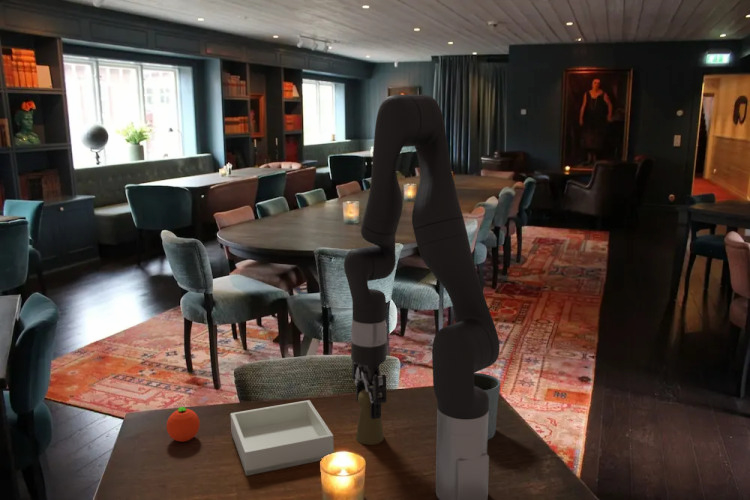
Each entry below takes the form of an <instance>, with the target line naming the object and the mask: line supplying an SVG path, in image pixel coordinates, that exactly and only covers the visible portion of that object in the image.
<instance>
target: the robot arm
mask: <svg viewBox="0 0 750 500" xmlns="http://www.w3.org/2000/svg"><path fill="white" fill-rule="evenodd" d="M446 133H447V132H446V125H445V119H444V116H443V111H442V109H441V107H440V105H439V102H437V101H436V100H435V98H434V97H432V96H430V95H427V94H394V95H390V96H389V95H388V96H387V97H386V98H385V99H384V100H383V101H382V102H381V103H380V106H379V108H378V111H377V115H376V120H375V127H374V136H373V139H374V140H373V150H372V151H373V152H372V161H371V162H372V163H371V177H370V178H371V179H370V187H369V194H368V199H367V202H366V207H365V209H364V210H365V211H364V215H363V219H362V223H361V228H360V234H361V236H362V238H363V239H364V240H365V241H366V242H368V243H370V244H374V245H372V246H365V247H356V248H352V249H351V250H349V251H348V252H347V253H346V255H345V257H344V262H343V269H344V273H345V277H346V280H347V284H348V287H349V292H350V295H351V300H352V304H351V305H352V320H351V321H352V322H351V330H350V333H351V334H350V359H351V360H352V363H351V365H352V366H351V379H352V380H354V385H355V386H356V387H355V388H356V389H355V390H356V391H355V394H356V395H355V400H356V401H357V402H358V395H359V393H360V392H361V391H362V390H364V389H366V392H367V393H369V397H370V417H371V418H372V419H377V418H380V417H381V418H382V404H384V403H387V375H386V374H382V373H381V370H380V365H381V364H383V363H384V362H385V361H386V360H387V337H388V336H387V322H386V321H387V319H386V318H387V317H386V315H387V311H386V310H387V307H386V306H387V299H386V295H385V293H384V292H383V291H381V290H378V289H374V288H369V285H368V284H369V283H368V282H372V281H375V280H382V279H383V280H384V279H386V278H388V277H390V276H391V274H392V273H393V272H394V270H395V267H396V261H397V260H396V259H397V257H396V234H397V230H398V227H399V223H400V220H401V216H402V211H403V204H404V203H403V202H404V201H403V194H402V189H401V187H400V183H399V181H398V180H399V179H398V174H397V168H398V167H397V165H398V162H399V161H398V160H399V157H400V154H401V152H402V150H403V148H404V147H405V148H408V147H414V148H415V151H416V156H417V160H418V166H419V172H420V179H419V185H418V188H417V193H416V196H415V199H414V203H413V207H412V212H411V213H412V215H411V222H412V223H411V224H412V229H413V233H414V237H415V243H416V245H417V250H418V252H419V255H420V258H421V260H422V261H423V263H424V264H425V266H426V267H427V268H428V270H429V271H430V272H431V274H433V276H434V277H435V278H436V279H437V281H438V282H439V283H440V284H441V286H442V287H443V288H444V290H445V291H446V292H447V295H448V297H449V299H450V302H451V305H452V307H453V308H452V309H453V312H454V315H455V320H456V321H455V323H452V324H449V325H446V326H444V327H442V328H440V329H439V330H438V331H437V332H436V333H435V336H434V338H433V342H432V347H431V348H432V349H431V360H432V363H431V364H432V365H431V366H432V385H433V387H432V388H433V392H434V395H435V398H436V401H437V402H436V403H437V404H436V405H437V407H436V409H437V410H436V411H437V412H436V414H437V415H436V451H435V453H436V455H435V458H436V459H435V466H436V467H435V494H436V497H437V498H438V500H488V495H489V473H490V472H489V468H490V466H489V465H490V456H489V454H488V440H487V438H488V413H489V397H488V395H487V393H486V392H485V391H484V390H483V389H481V388H479V387H476V386H474V373H479V372H481V371H482V370H484V369H487V368H489V367H491V366H493V365H494V364H495V363H496V362H497V360H498V358H499V355H500V340H499V335H498V331H497V328H496V325H495V322H494V320H493V317H492V314H491V311H490V309H489V306H488V304H487V300H486V296H485V294H484V291H483V289H482V286H481V282H480V278H479V273H478V271H477V268H476V264H475V261H474V260H475V259H474V257H473V252H472V249H471V245H470V241H469V235H468V231H467V227H466V224H465V219H464V215H463V211H462V209H461V205H460V201H459V197H458V193H457V188H456V184H455V179H454V175H453V169H452V165H451V159H450V153H449V152H450V151H449V148H448V147H449V146H448V145H449V144H448V140H447V134H446Z"/></svg>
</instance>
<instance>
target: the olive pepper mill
mask: <svg viewBox="0 0 750 500" xmlns="http://www.w3.org/2000/svg"><path fill="white" fill-rule="evenodd" d="M357 402H358V404H359V406H360V409H359V414H358V415H359V416H358V423H357V432H356V438H355V439H356V441H357V442H358V443H360V444H363V445H367V446H368V445H369V446H371V445H372V446H373V445H377V444H381V442H383V441H384V439H385V437H384V429H383V423H382V416H381V417H380V418H377V419H372V418H371V417H370V397H369V393H367V392H366V389H364V390H362V391H361V392H360V393H359V395H358V401H357Z"/></svg>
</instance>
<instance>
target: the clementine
mask: <svg viewBox="0 0 750 500" xmlns="http://www.w3.org/2000/svg"><path fill="white" fill-rule="evenodd" d="M200 423H201V422H200V418H199V416H198V415H197V413H196V412H195V411H194V410H192V409H189V408H186V407H185V406H181V407H180V406H179V407H178V409H177V410H175V411H174V412H172V413H171V415H170V416H169V417H168V419H167V421H166V431H167V434H168V435H169V437H170V438H171V439H172V440H175V441H176V442H188V441H190V440H192V439H193V438H194V437H196V435H197V434H198V432H199V429H200V425H201V424H200Z"/></svg>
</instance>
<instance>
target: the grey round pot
mask: <svg viewBox="0 0 750 500" xmlns="http://www.w3.org/2000/svg"><path fill="white" fill-rule="evenodd" d="M474 386H476V387H479V388H481V389H483V390H484V391H485V392H486V393H487V395H488V397H489V413H488V438H487V441H488V440H491V439H493V437H494V436H495V435H496V429H497V413H498V405H499V403H498V402H499V397H500V389H501V381H500V380H499V379H498V378H497V377H495V376H494V375H490V374H486V373H480V372H475V373H474Z"/></svg>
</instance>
